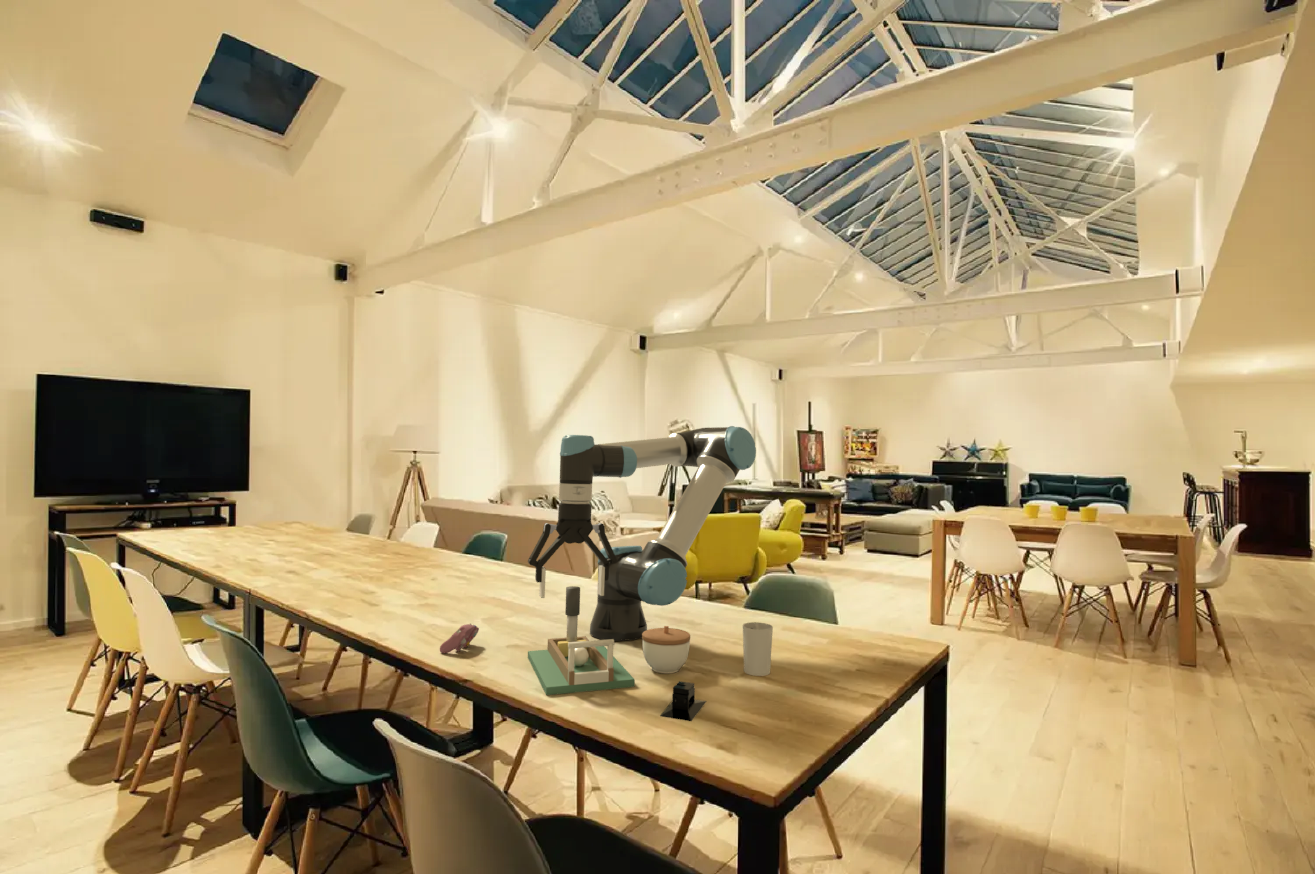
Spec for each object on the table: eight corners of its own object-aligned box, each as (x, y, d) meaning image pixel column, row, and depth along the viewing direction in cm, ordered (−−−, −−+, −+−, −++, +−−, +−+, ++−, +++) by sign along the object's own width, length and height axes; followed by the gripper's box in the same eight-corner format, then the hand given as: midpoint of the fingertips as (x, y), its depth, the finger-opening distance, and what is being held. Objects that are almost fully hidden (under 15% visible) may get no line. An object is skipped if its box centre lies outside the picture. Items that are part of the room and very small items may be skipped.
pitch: (603, 651, 157) (604, 611, 157) (634, 686, 133) (635, 638, 133) (527, 657, 151) (529, 615, 151) (546, 695, 127) (547, 645, 128)
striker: (583, 650, 151) (585, 585, 152) (586, 654, 148) (588, 588, 149) (556, 653, 149) (557, 586, 150) (558, 657, 146) (560, 589, 147)
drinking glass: (753, 678, 140) (754, 631, 140) (735, 669, 146) (736, 623, 146) (778, 674, 143) (779, 628, 144) (760, 665, 149) (760, 621, 149)
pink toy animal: (452, 661, 152) (465, 635, 151) (436, 651, 152) (449, 625, 152) (472, 649, 161) (485, 625, 161) (457, 640, 162) (470, 615, 162)
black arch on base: (674, 696, 129) (675, 671, 130) (712, 702, 127) (713, 677, 127) (652, 721, 117) (653, 694, 117) (694, 728, 114) (694, 700, 115)
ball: (585, 662, 144) (586, 643, 144) (590, 667, 140) (590, 648, 140) (567, 663, 142) (568, 645, 142) (571, 669, 138) (572, 650, 139)
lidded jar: (695, 665, 148) (696, 623, 149) (681, 679, 138) (682, 634, 138) (650, 659, 152) (651, 618, 152) (634, 673, 142) (635, 629, 142)
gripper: (522, 502, 142) (518, 601, 141) (632, 503, 150) (629, 596, 149) (518, 500, 149) (514, 594, 148) (622, 501, 157) (619, 590, 157)
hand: (571, 595), depth 149 cm, fingers open, 13 cm apart
